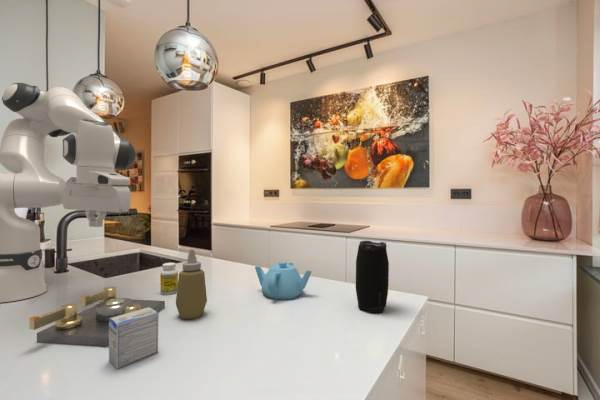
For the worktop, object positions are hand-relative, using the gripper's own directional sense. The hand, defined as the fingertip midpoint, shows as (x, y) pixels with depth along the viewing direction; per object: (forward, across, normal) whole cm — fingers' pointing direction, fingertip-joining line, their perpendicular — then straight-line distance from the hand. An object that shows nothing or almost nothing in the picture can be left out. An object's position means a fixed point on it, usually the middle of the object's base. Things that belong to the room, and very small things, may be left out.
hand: (95, 226), depth 83 cm
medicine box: (+22, +30, -18) cm, 42 cm away
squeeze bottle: (+23, +29, +2) cm, 37 cm away
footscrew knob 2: (+21, +6, -4) cm, 22 cm away
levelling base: (+23, +12, -7) cm, 27 cm away
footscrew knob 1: (+21, +8, -17) cm, 28 cm away
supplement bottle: (+24, +11, +17) cm, 32 cm away
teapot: (+23, +48, +26) cm, 60 cm away
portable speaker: (+22, +78, +20) cm, 83 cm away
